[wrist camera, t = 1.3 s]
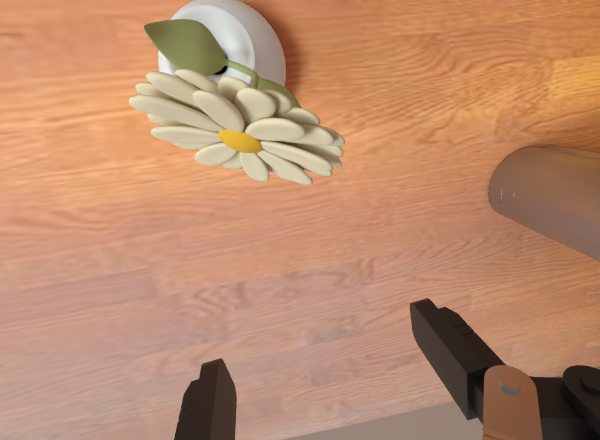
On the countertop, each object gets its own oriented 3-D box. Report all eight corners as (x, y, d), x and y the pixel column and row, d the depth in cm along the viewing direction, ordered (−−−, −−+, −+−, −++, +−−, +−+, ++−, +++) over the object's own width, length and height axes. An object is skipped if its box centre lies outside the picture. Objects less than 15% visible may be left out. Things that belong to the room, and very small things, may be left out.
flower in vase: (137, 74, 29) (-252, 11, 6) (213, -32, 27) (43, -681, 4) (247, 165, 34) (251, 315, 11) (319, 81, 32) (503, 54, 9)
